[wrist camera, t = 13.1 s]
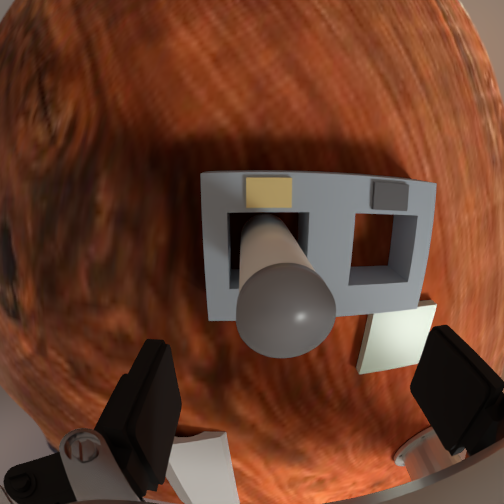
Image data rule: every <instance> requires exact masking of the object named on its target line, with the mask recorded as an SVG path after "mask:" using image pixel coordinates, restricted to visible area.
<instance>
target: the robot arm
mask: <svg viewBox="0 0 504 504" xmlns="http://www.w3.org/2000/svg"><path fill="white" fill-rule="evenodd" d="M503 388H504V381H503V380H502V379H501V378H500V377H499V376H498V375H497V374H496V373H495V372H494V371H493V369H492V368H491V367H490V366H489V365H488V364H487V363H486V362H485V361H484V360H483V359H482V358H481V357H480V356H479V355H478V354H477V353H476V352H475V351H474V350H473V349H472V348H471V347H470V346H469V345H468V344H467V343H466V342H465V341H464V340H463V339H462V338H461V337H460V336H458V335H457V334H456V333H455V332H454V331H453V330H452V329H451V328H450V327H449V326H448V325H441V326H435V327H433V328H432V330H431V331H430V332H429V333H428V336H427V339H426V342H425V346H424V349H423V352H422V355H421V358H420V360H419V363H418V366H417V369H416V372H415V374H414V377H413V379H412V382H411V385H410V390H411V393H412V395H413V396H414V398H415V399H416V401H417V403H418V404H419V406H420V408H421V409H422V411H423V413H424V414H425V416H426V418H427V419H428V421H429V423H430V424H431V427H429V428H427V429H425V430H423V431H422V432H420V433H418V434H417V435H415V436H414V437H412V438H411V439H410V440H408V441H407V442H406V443H405V444H404V445H403V446H401V448H400V449H399V450H398V451H397V452H396V454H395V456H394V462H395V464H396V465H398V466H406V468H407V471H408V473H409V475H410V478H411V480H412V482H409V483H406V484H403V485H400V486H397V487H393V488H390V489H387V490H383V491H380V492H376V493H372V494H368V495H364V496H360V497H356V498H351V499H346V500H341V501H336V502H330V503H324V504H504V393H503V392H502V391H503ZM181 406H182V403H181V397H180V392H179V388H178V383H177V378H176V373H175V368H174V363H173V358H172V353H171V348H170V345H168V344H165V342H164V340H156V339H147V340H146V341H145V343H144V345H143V347H142V348H141V350H140V352H139V354H138V356H137V358H136V360H135V362H134V363H133V365H132V367H131V369H130V371H129V373H128V374H124V375H122V377H121V378H120V380H119V382H118V384H117V385H116V387H115V389H114V391H113V393H112V395H111V397H110V399H109V401H108V403H107V405H106V407H105V409H104V410H103V412H102V414H101V416H100V418H99V420H98V422H97V424H96V426H95V428H94V430H92V429H87V428H80V429H75V430H73V431H71V432H69V433H68V434H66V435H65V436H64V437H63V439H62V440H61V442H60V446H59V450H60V452H58V453H55V454H52V455H49V456H46V457H42V458H39V459H36V460H33V461H30V462H26V463H23V464H19V465H16V466H14V467H12V468H10V470H8V471H7V473H6V475H5V477H4V485H2V486H1V485H0V504H156V503H149V502H145V500H144V498H143V496H145V495H146V491H147V490H151V491H157V488H158V484H161V485H162V484H163V483H164V480H165V476H166V471H167V467H168V463H169V458H170V454H171V450H172V445H173V441H174V437H175V433H176V428H177V424H178V420H179V416H180V412H181ZM465 448H466V450H467V452H466V457H465V459H464V460H462V459H461V457H460V455H459V453H461V452H462V451H463V450H464V449H465Z"/></svg>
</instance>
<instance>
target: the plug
mask: <svg viewBox="0 0 504 504" xmlns="http://www.w3.org/2000/svg"><path fill="white" fill-rule="evenodd" d="M335 318H336V304H335V300H334V297H333V295H332V293H331V291H330V290H329V288H328V286H327V285H326V283H325V282H324V280H323V279H322V278H321V277H320V275H319V274H317V273H316V272H315V270H314V268H313V267H312V265H311V264H310V262H309V260H308V259H307V257H306V256H305V254H304V253H303V251H302V249H301V248H300V246H299V245H298V243H297V242H296V240H295V238H294V237H293V235H292V234H291V232H290V231H289V229H288V228H287V226H286V225H285V223H284V222H283V221H282V220H281V219H280V218H279V217H277V216H275V215H273V214H268V213H262V214H258V215H255V216H253V217H251V218H250V219H249V220H248V221H247V222H246V223H245V224H244V226H243V228H242V231H241V242H240V276H239V295H238V298H237V306H236V325H237V329H238V332H239V334H240V336H241V338H242V339H243V341H244V342H245V343H246V344H247V345H248V346H249V347H250V348H251V349H253V350H254V351H256V352H258V353H260V354H262V355H265V356H268V357H273V358H291V357H295V356H299V355H302V354H304V353H307V352H309V351H311V350H312V349H314V348H315V347H317V346H318V345H319V344H320V343H321V342H323V340H324V339H325V338H326V337H327V336H328V334H329V333H330V331H331V329H332V327H333V325H334V322H335Z"/></svg>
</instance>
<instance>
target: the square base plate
mask: <svg viewBox="0 0 504 504" xmlns="http://www.w3.org/2000/svg"><path fill="white" fill-rule="evenodd" d="M436 307H437V304H436V303H435V302H434V301H433V300H424V301H419V303H418V307H417V309H411V310H403V311H394V312H385V313H374V314H368V317H367V322H366V327H365V331H364V336H363V340H362V345H361V349H360V353H359V357H358V361H357V365H356V369H357V371H358V373H359V374H365V373H371V372H377V371H383V370H389V369H394V368H399V367H404V366H409V365H413V364H418V363H419V360H420V357H421V354H422V352H423V349H424V346H425V342H426V339H427V336H428V333H429V331H430V327H431V324H432V321H433V317H434V314H435V310H436Z"/></svg>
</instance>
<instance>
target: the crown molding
mask: <svg viewBox="0 0 504 504" xmlns="http://www.w3.org/2000/svg"><path fill="white" fill-rule="evenodd" d="M166 477H167V479H168V481H169V482H170V484H171V486H172V487H173V489H174V490H175V492H176V493H177V495H178V496H179V498H180V499H181V501H183V502H184V503H185V504H240V502H239V497H238V493H237V488H236V483H235V478H234V473H233V468H232V462H231V457H230V452H229V446H228V440H227V435H226V432H208V431H204V432H202V433H200V434H198V435H195V436H192V437H176V436H175V437H174V441H173V445H172V450H171V454H170V458H169V463H168V467H167V471H166Z"/></svg>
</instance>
